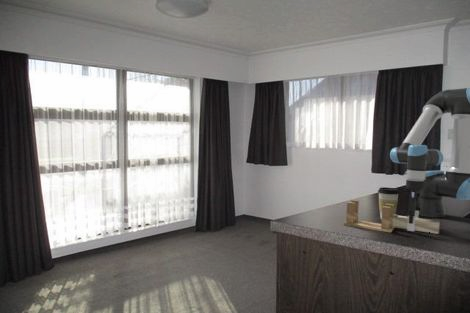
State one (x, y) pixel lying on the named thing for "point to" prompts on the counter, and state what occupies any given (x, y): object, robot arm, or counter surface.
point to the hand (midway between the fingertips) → (412, 227)
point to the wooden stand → (384, 226)
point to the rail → (417, 224)
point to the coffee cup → (388, 198)
